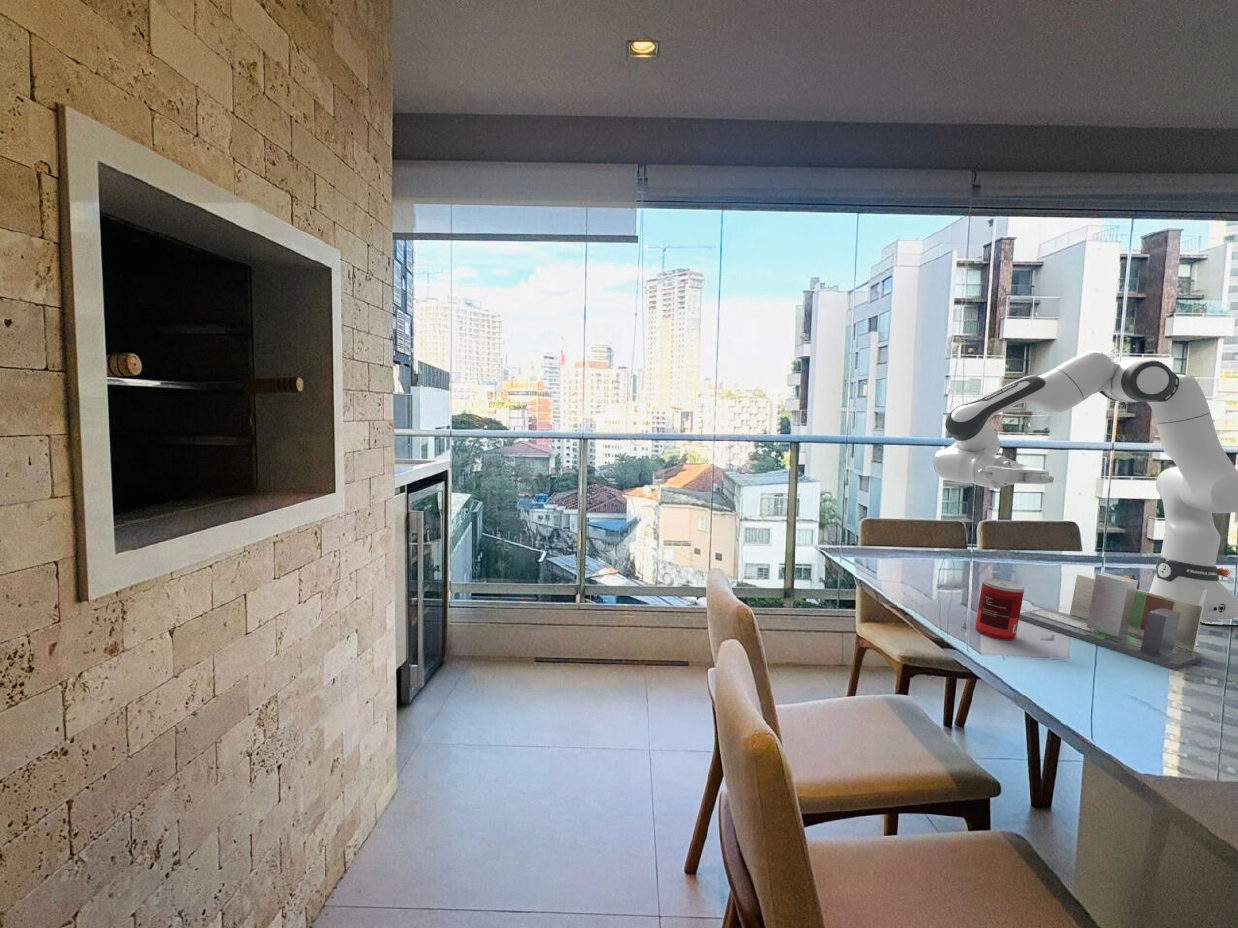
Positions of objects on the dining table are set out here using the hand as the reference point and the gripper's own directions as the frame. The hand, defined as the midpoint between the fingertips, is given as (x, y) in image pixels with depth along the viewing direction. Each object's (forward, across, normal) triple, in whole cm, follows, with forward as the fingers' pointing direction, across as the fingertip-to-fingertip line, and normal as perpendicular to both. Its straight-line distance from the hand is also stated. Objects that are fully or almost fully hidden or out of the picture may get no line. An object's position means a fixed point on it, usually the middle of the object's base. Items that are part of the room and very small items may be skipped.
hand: (1050, 480), depth 164 cm
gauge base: (+20, -6, +32) cm, 38 cm away
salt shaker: (+16, +12, +32) cm, 38 cm away
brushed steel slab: (+20, -8, +30) cm, 37 cm away
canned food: (+9, -35, +32) cm, 48 cm away
